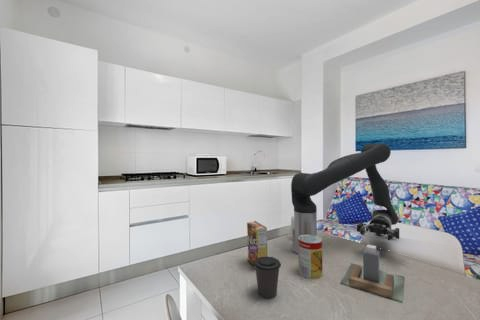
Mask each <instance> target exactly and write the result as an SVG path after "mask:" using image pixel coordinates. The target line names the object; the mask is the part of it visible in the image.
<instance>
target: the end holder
mask: <svg viewBox="0 0 480 320" xmlns="http://www.w3.org/2000/svg"><path fill="white" fill-rule="evenodd" d="M339 283H340V284H341V285H344V286H347V287H350V288H354V289H357V290H360V291H364V292H367V293H369V294H373V295H377V296H379V297H382V298H386V299H389V300H393V301H395V302H397V303H398V302H399V303H403V299H404V287H405V276H404V275H399V274H397V273H392V272H388V271H384V270H380V283H375V282H372V281H368V280H365V279H363V265H360V264H357V263H356V264H355V263H350V265H349V266H348V267H347V270H346V271H345V273H344V275H343V276H342V279H341V280H340V282H339Z"/></svg>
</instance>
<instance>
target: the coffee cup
mask: <svg viewBox="0 0 480 320" xmlns="http://www.w3.org/2000/svg"><path fill="white" fill-rule="evenodd" d="M254 266H255V267H254ZM254 266H253V267H254V270H255V277H256V284H257V285H256V286H257V291H258V295H260V296H259V297H261V298H262V299H265V300H266V299H267V300H270V299H274V298H276V296H277V293H278V292H277V291H278V282H279V273H280V268H281V266H282V263H281V261H280V260H279V259H277V258H275V257H273V256H268V257H259V258H257V259H256V260H255V261H254Z"/></svg>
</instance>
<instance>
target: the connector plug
mask: <svg viewBox="0 0 480 320" xmlns="http://www.w3.org/2000/svg"><path fill="white" fill-rule="evenodd" d="M362 258H363V259H362V260H363V261H362V266H363V279H365V280H368V281H372V282H375V283H380V261H381V260H380V250H377V245H372V244H369V243H368V244H367V245H366V247H365V248H364V250H363V252H362Z"/></svg>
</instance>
